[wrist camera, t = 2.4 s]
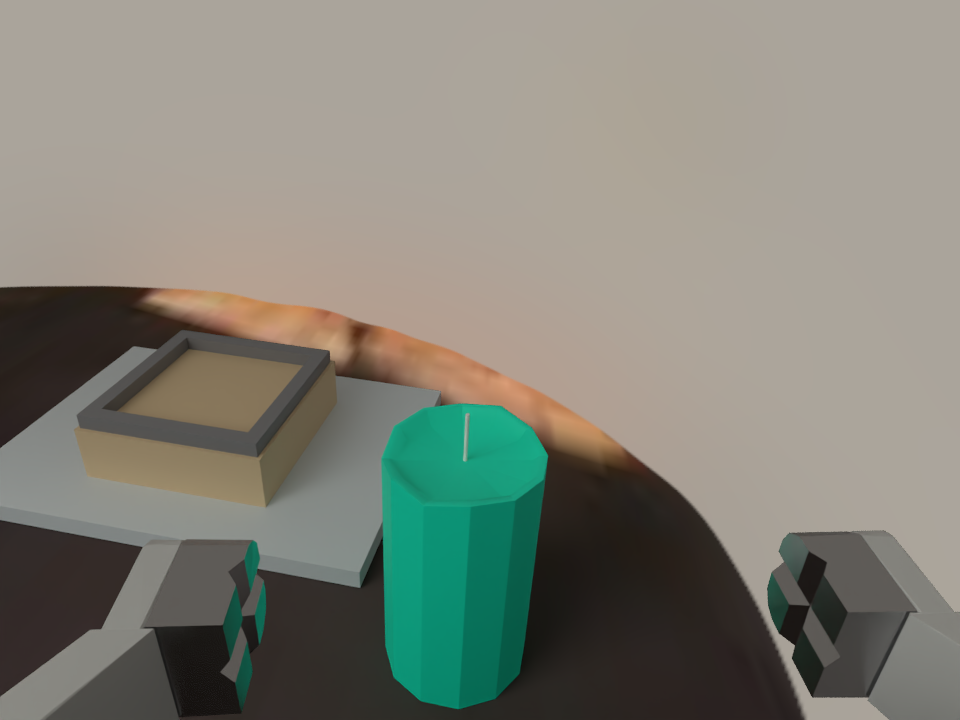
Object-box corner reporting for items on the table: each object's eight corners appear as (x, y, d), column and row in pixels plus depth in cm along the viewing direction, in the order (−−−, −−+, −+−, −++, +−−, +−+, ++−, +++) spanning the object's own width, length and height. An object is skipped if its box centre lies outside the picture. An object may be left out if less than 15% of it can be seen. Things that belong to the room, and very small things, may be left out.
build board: (-54, 509, 36) (-88, 432, 33) (136, 358, 49) (122, 296, 47) (360, 587, 33) (356, 509, 30) (440, 403, 46) (442, 339, 44)
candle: (429, 572, 34) (434, 355, 28) (545, 621, 32) (578, 397, 26) (357, 669, 29) (344, 433, 23) (488, 735, 27) (512, 493, 21)
